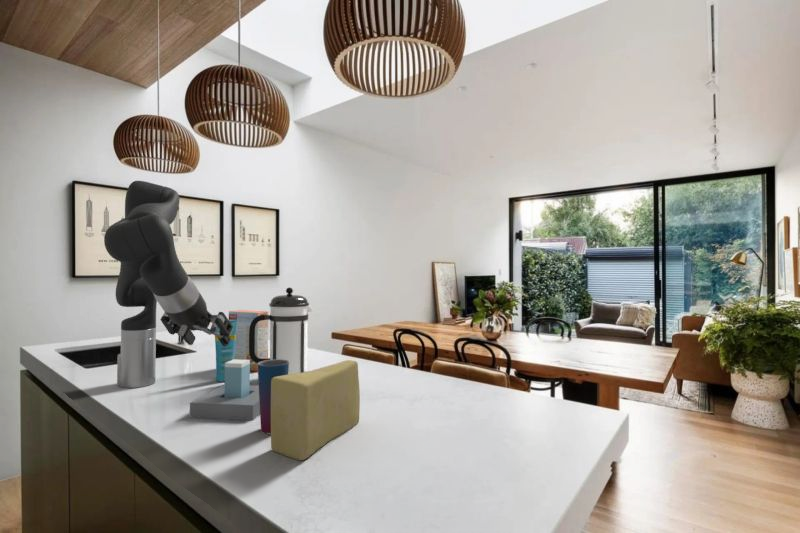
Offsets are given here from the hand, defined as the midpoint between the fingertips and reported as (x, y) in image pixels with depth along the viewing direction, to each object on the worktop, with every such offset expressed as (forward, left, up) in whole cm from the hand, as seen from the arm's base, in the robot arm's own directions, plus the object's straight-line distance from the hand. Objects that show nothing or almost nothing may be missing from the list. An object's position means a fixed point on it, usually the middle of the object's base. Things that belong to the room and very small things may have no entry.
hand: (209, 342), depth 98 cm
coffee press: (+3, +40, -19) cm, 45 cm away
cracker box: (-15, +51, -19) cm, 57 cm away
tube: (-15, +35, -19) cm, 43 cm away
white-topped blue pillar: (+2, +10, -19) cm, 21 cm away
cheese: (+30, -5, -19) cm, 36 cm away
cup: (+17, -3, -19) cm, 25 cm away
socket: (+2, +10, -19) cm, 21 cm away
